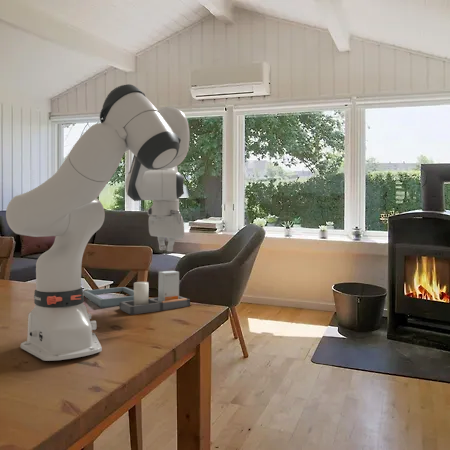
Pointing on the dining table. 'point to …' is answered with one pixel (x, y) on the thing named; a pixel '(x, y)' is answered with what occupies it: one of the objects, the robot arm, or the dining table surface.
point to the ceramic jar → (141, 293)
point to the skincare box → (168, 286)
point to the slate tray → (110, 301)
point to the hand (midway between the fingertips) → (166, 250)
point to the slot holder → (153, 305)
